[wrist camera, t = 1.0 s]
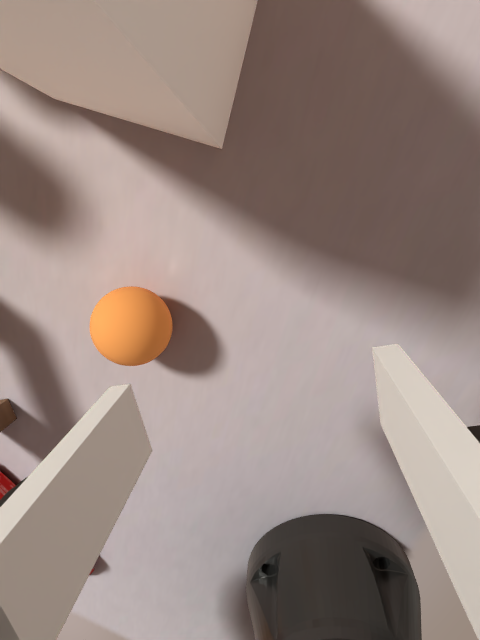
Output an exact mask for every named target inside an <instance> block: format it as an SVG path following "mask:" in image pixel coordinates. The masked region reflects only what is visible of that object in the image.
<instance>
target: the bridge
mask: <svg viewBox="0 0 480 640" xmlns="http://www.w3.org/2000/svg"><path fill="white" fill-rule="evenodd" d="M15 419H17V418H16V416H15V413H14V411H13V409H12V407H11V404H10V402H9V400H8V399H3V400H0V432H1V431H2V430H3V429H5V428H6V427H7V426H8V425H9V424H11V423H12V422H13V421H14V420H15Z"/></svg>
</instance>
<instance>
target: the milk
mask: <svg viewBox="0 0 480 640" xmlns="http://www.w3.org/2000/svg"><path fill="white" fill-rule="evenodd" d="M257 2H258V0H0V69H2V70H3V71H5V72H7V73H9V74H10V75H12V76H14V77H16V78H18V79H19V80H21V81H23V82H25V83H27V84H28V85H30V86H32V87H34V88H36V89H37V90H39V91H41V92H43V93H45V94H46V95H48V96H50V97H52V98H53V99H56V100H59V101H63V102H66V103H69V104H73V105H76V106H79V107H83V108H86V109H89V110H93V111H96V112H99V113H103V114H106V115H109V116H113V117H116V118H119V119H123V120H126V121H130V122H133V123H136V124H140V125H143V126H146V127H150V128H153V129H156V130H160V131H163V132H166V133H170V134H173V135H176V136H180V137H183V138H186V139H190V140H193V141H196V142H200V143H203V144H206V145H210V146H213V147H216V148H220V149H222V147H223V143H224V139H225V134H226V130H227V126H228V122H229V118H230V114H231V110H232V105H233V101H234V97H235V93H236V89H237V85H238V81H239V76H240V72H241V68H242V64H243V60H244V56H245V52H246V47H247V43H248V39H249V35H250V31H251V27H252V23H253V18H254V14H255V10H256V6H257Z"/></svg>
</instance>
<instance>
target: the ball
mask: <svg viewBox="0 0 480 640" xmlns="http://www.w3.org/2000/svg"><path fill="white" fill-rule="evenodd" d="M172 327H173V325H172V318H171V314H170V311H169V309H168V307H167V305H166V304H165V303H164V301H163V300H162V299H161V298H160V297H159V296H157V295H156V294H155V293H153V292H151V291H149V290H147V289H144V288H140V287H122V288H119V289H116V290H113V291H111V292H110V293H108V294H106V295H105V296H104V297H103V298H102V299H101V300H100V301H99V302H98V303H97V305H96V306H95V308H94V310H93V312H92V315H91V319H90V334H91V338H92V340H93V343H94V345H95V346H96V348H97V349H98V351H99V352H100V353H101V354H102V355H103V356H104V357H106V358H107V359H109V360H110V361H112V362H114V363H117V364H120V365H125V366H137V365H142V364H145V363H148V362H150V361H152V360H153V359H155V358H156V357H158V356H159V355H160V354H161V353H162V352H163V351H164V349H165V348H166V347H167V345H168V343H169V341H170V338H171V334H172Z"/></svg>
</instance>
